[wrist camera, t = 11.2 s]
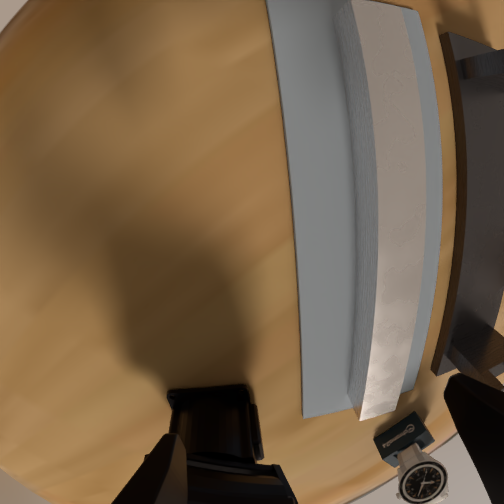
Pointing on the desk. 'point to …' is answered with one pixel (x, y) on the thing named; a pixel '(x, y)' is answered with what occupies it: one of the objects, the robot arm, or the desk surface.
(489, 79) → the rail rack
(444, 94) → the desk surface
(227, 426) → the robot arm
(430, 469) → the watch
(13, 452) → the desk surface
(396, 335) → the rail
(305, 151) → the mat
